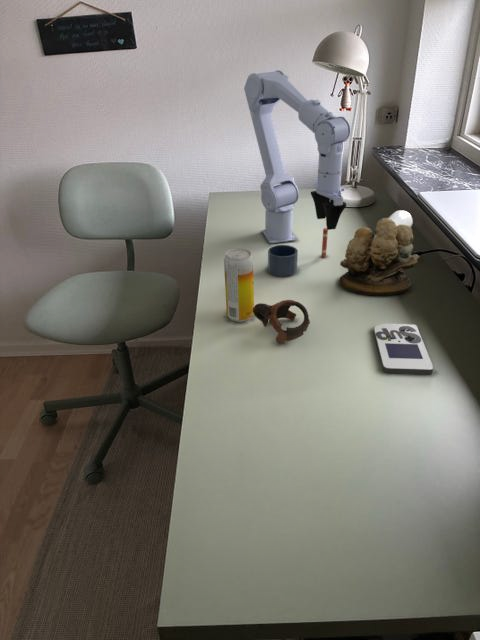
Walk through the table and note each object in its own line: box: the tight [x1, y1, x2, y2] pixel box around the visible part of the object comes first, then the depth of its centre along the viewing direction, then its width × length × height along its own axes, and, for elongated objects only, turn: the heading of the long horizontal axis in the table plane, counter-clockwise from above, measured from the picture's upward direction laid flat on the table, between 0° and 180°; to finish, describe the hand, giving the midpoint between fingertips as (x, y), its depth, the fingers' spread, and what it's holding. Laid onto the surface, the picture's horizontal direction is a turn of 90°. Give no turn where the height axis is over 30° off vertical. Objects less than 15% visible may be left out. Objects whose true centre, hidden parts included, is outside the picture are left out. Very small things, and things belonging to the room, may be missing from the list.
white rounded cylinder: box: [374, 209, 414, 236], centre depth 137 cm, size 7×7×15 cm
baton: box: [321, 227, 329, 259], centre depth 130 cm, size 1×1×8 cm
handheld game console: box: [373, 323, 434, 375], centre depth 95 cm, size 9×15×1 cm, turn 175°
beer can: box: [223, 248, 255, 323], centre depth 103 cm, size 6×6×15 cm
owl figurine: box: [339, 217, 420, 297], centre depth 113 cm, size 18×12×17 cm, turn 87°
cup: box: [267, 244, 299, 278], centre depth 124 cm, size 7×7×6 cm
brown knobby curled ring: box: [253, 299, 311, 345], centre depth 100 cm, size 12×10×8 cm
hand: (326, 223), depth 127 cm, fingers open, 7 cm apart
